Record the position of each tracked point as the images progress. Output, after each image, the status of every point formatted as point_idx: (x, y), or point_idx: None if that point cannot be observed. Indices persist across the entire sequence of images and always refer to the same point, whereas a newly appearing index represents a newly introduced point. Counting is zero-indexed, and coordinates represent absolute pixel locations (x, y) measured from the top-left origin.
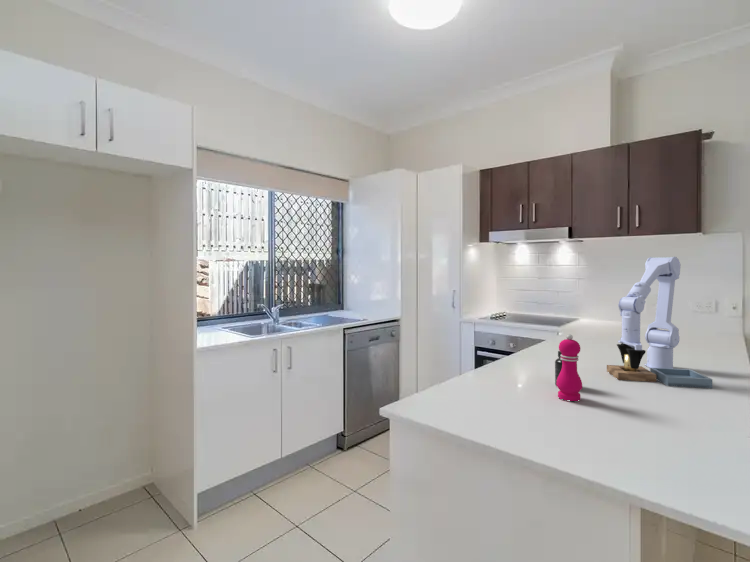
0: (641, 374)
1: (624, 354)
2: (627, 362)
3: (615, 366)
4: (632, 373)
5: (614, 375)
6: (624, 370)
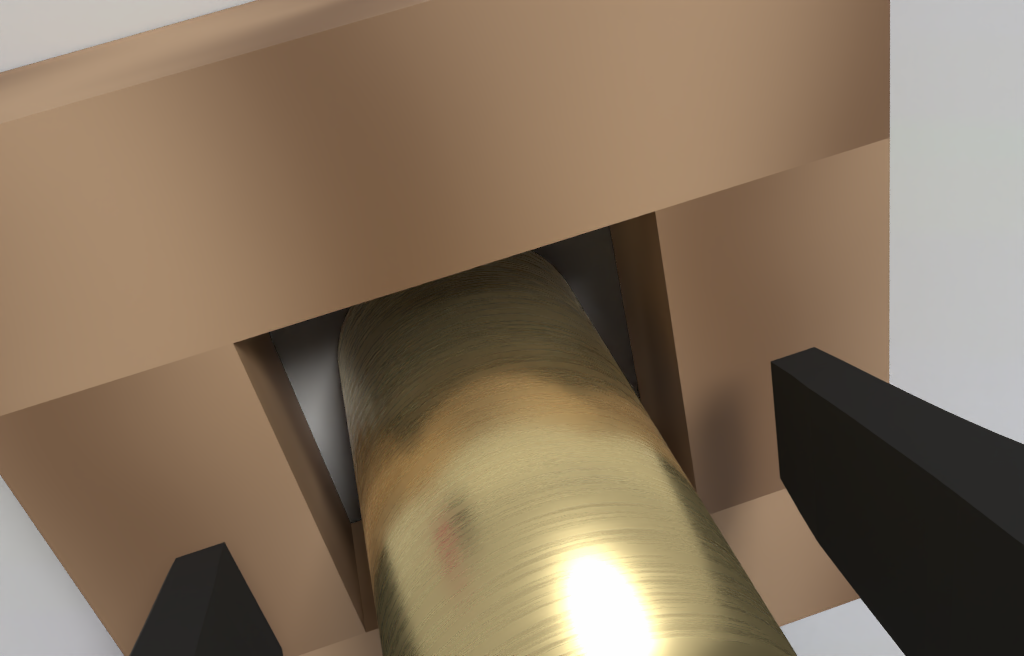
0: (118, 639)
1: (643, 652)
2: (408, 542)
3: (743, 118)
4: (56, 500)
5: (177, 34)
6: (449, 314)
